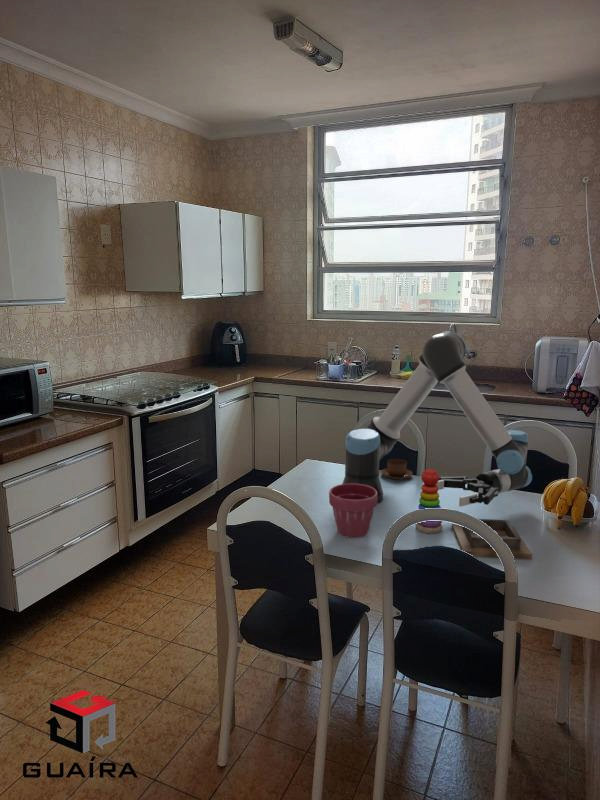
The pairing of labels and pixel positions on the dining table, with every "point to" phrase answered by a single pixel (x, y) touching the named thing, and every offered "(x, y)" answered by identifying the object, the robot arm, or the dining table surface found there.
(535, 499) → the dining table surface
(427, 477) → the stacking toy
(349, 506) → the plant pot
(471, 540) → the wooden divided tray
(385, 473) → the cup and saucer
